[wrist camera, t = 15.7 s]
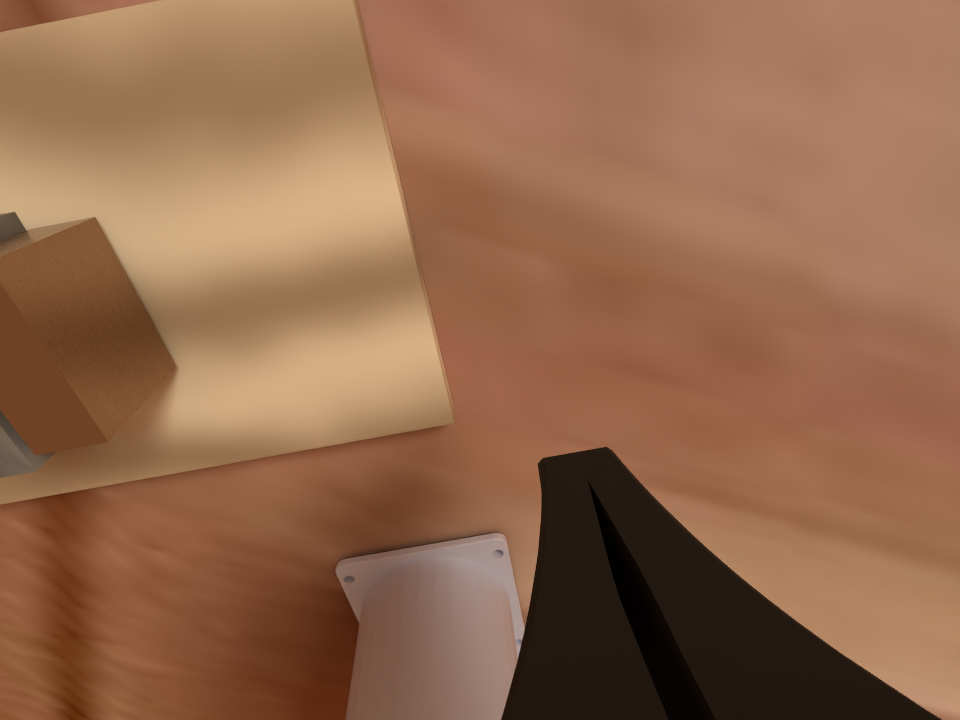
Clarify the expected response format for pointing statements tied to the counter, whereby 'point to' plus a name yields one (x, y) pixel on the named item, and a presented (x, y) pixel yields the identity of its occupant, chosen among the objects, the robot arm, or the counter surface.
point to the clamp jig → (226, 228)
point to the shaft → (72, 338)
